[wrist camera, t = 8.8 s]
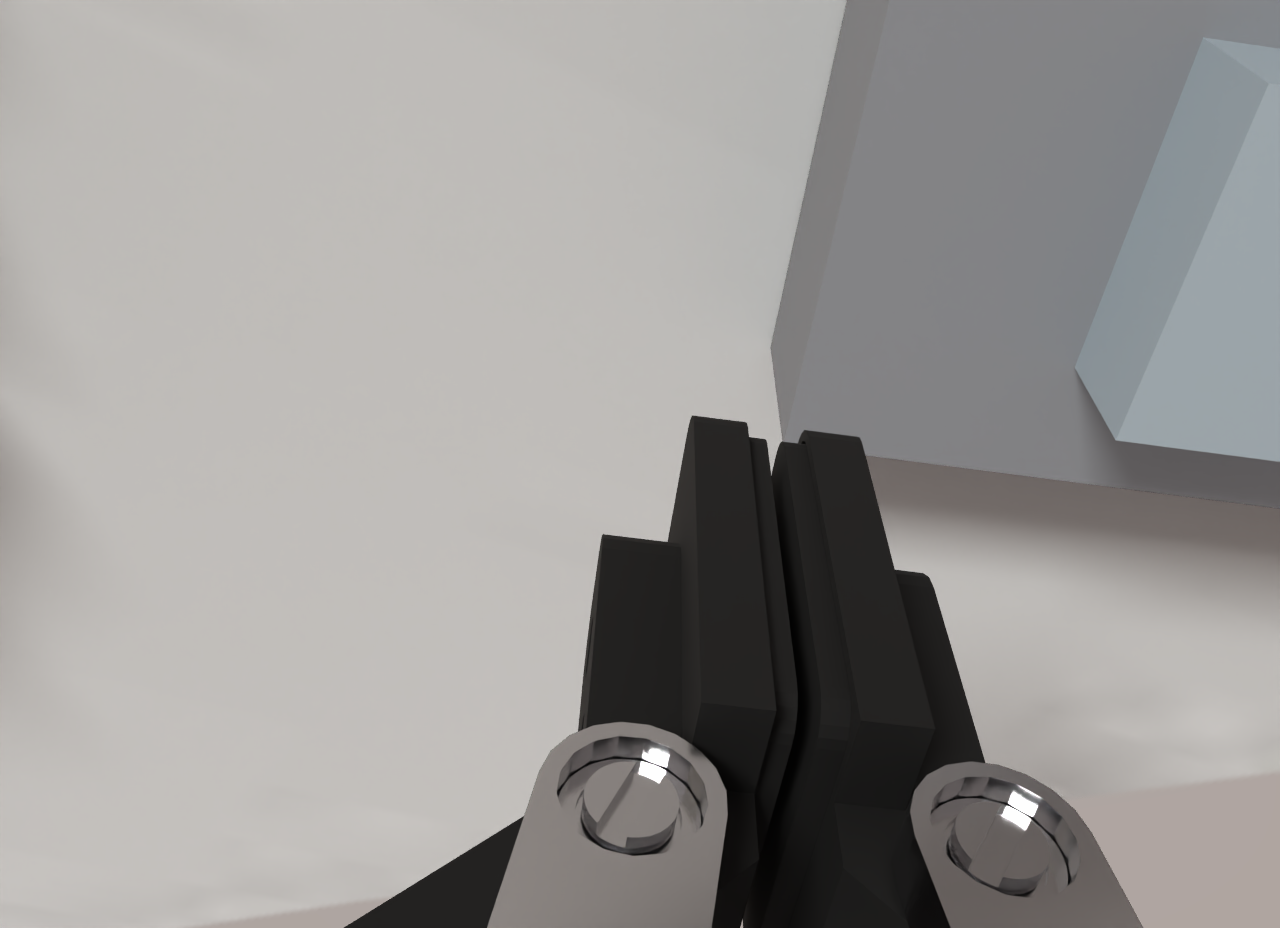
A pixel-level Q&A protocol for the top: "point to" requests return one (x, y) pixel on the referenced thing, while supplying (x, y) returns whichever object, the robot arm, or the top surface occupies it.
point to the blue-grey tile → (1201, 273)
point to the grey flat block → (989, 233)
